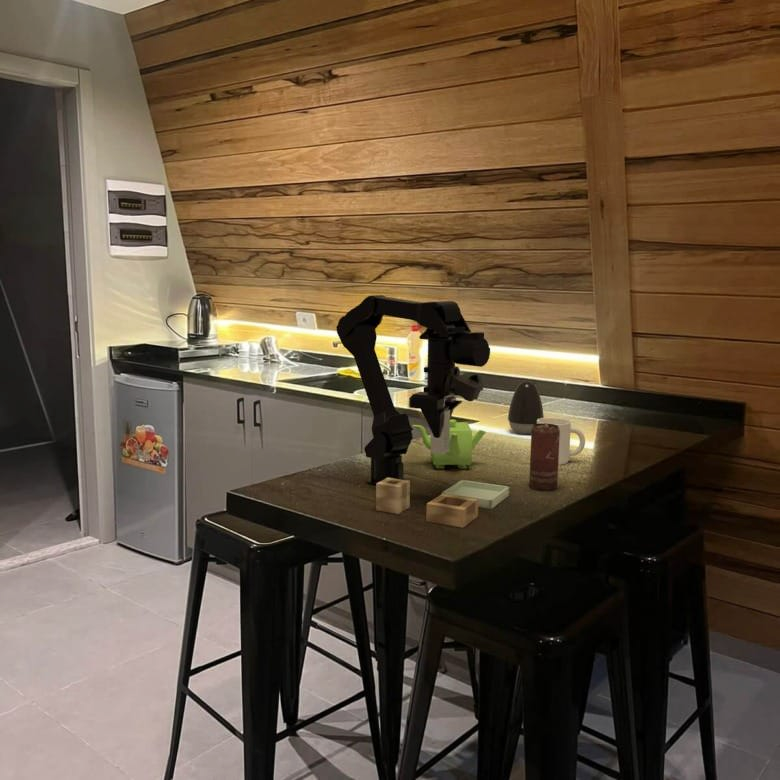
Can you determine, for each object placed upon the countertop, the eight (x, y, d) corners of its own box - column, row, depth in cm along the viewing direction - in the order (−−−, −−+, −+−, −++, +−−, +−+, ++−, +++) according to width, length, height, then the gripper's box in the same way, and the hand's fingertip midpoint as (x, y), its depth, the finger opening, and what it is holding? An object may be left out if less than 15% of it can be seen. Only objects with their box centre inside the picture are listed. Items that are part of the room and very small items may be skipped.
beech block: (376, 510, 160) (376, 483, 159) (387, 503, 164) (387, 477, 163) (398, 513, 157) (398, 487, 156) (409, 507, 162) (409, 480, 161)
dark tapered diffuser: (548, 431, 233) (551, 380, 231) (534, 438, 225) (536, 384, 222) (516, 427, 239) (518, 377, 236) (501, 433, 230) (503, 381, 228)
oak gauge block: (426, 521, 153) (426, 503, 152) (442, 510, 160) (442, 493, 159) (463, 527, 150) (463, 509, 149) (477, 516, 156) (478, 499, 156)
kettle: (454, 476, 185) (455, 429, 183) (408, 465, 194) (408, 420, 192) (491, 464, 196) (493, 419, 194) (446, 454, 205) (447, 411, 203)
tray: (441, 500, 166) (441, 492, 166) (461, 487, 176) (462, 479, 175) (491, 509, 161) (491, 500, 161) (509, 495, 171) (509, 486, 170)
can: (553, 483, 180) (555, 422, 178) (560, 491, 174) (563, 428, 171) (526, 482, 180) (528, 422, 178) (532, 491, 174) (535, 428, 171)
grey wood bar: (430, 452, 167) (431, 410, 165) (436, 449, 169) (436, 408, 168) (443, 454, 166) (444, 411, 164) (449, 451, 168) (450, 409, 167)
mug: (582, 458, 202) (584, 418, 201) (585, 467, 194) (587, 425, 193) (534, 456, 204) (536, 416, 202) (535, 464, 196) (537, 423, 194)
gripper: (460, 370, 153) (458, 449, 155) (493, 359, 169) (491, 431, 172) (408, 366, 158) (407, 443, 160) (445, 356, 174) (444, 426, 177)
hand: (440, 436), depth 167 cm, fingers closed on grey wood bar, 3 cm apart
